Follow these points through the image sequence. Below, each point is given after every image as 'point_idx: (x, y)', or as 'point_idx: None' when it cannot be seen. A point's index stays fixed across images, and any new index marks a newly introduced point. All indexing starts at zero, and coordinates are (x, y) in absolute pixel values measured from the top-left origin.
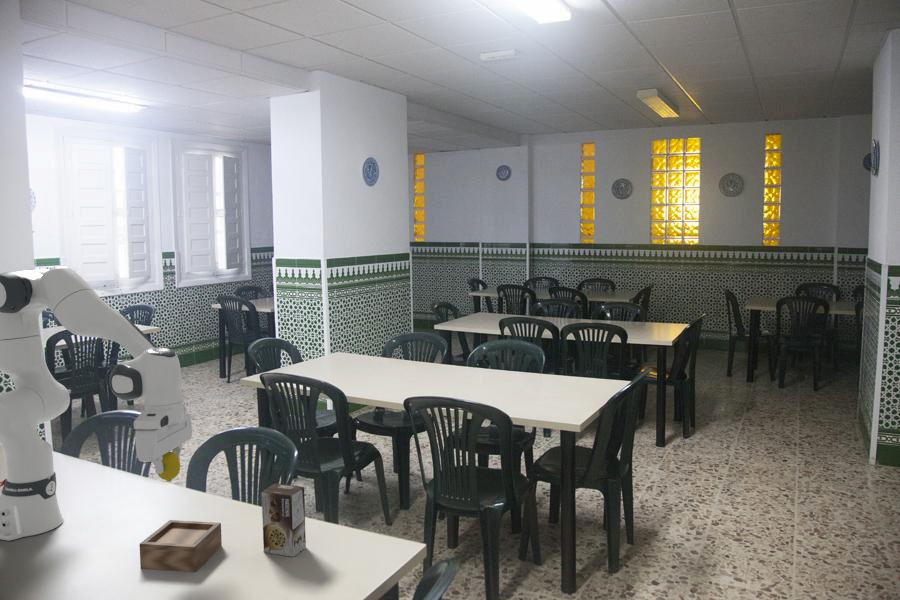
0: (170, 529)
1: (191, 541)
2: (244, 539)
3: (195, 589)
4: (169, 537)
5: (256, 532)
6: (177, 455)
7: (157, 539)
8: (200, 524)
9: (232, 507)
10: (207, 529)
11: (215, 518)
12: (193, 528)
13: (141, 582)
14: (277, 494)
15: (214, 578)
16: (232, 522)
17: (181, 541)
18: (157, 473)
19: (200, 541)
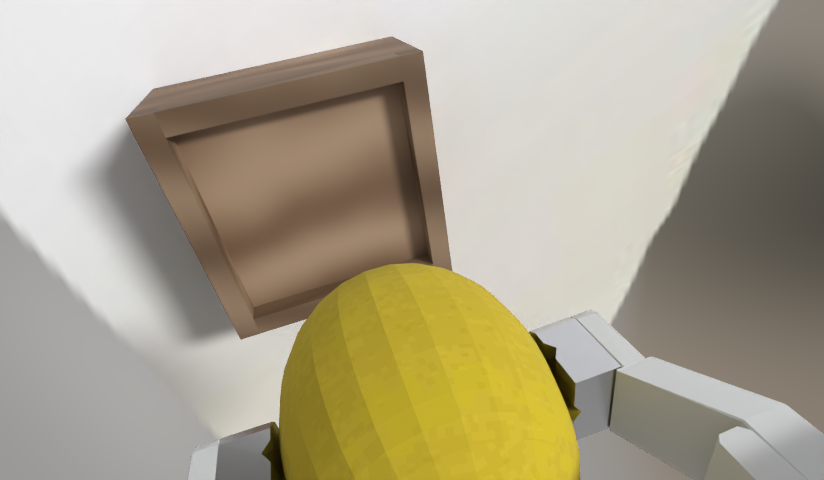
0: (368, 94)
1: (305, 259)
2: (479, 256)
3: (160, 352)
4: (297, 154)
5: (528, 254)
6: (618, 428)
7: (255, 118)
8: (424, 212)
9: (710, 50)
10: (416, 236)
11: (619, 54)
12: (408, 182)
13: (75, 181)
14: None
15: (241, 347)
16: (589, 139)
17: (288, 227)
18: (307, 322)
19: (289, 323)
